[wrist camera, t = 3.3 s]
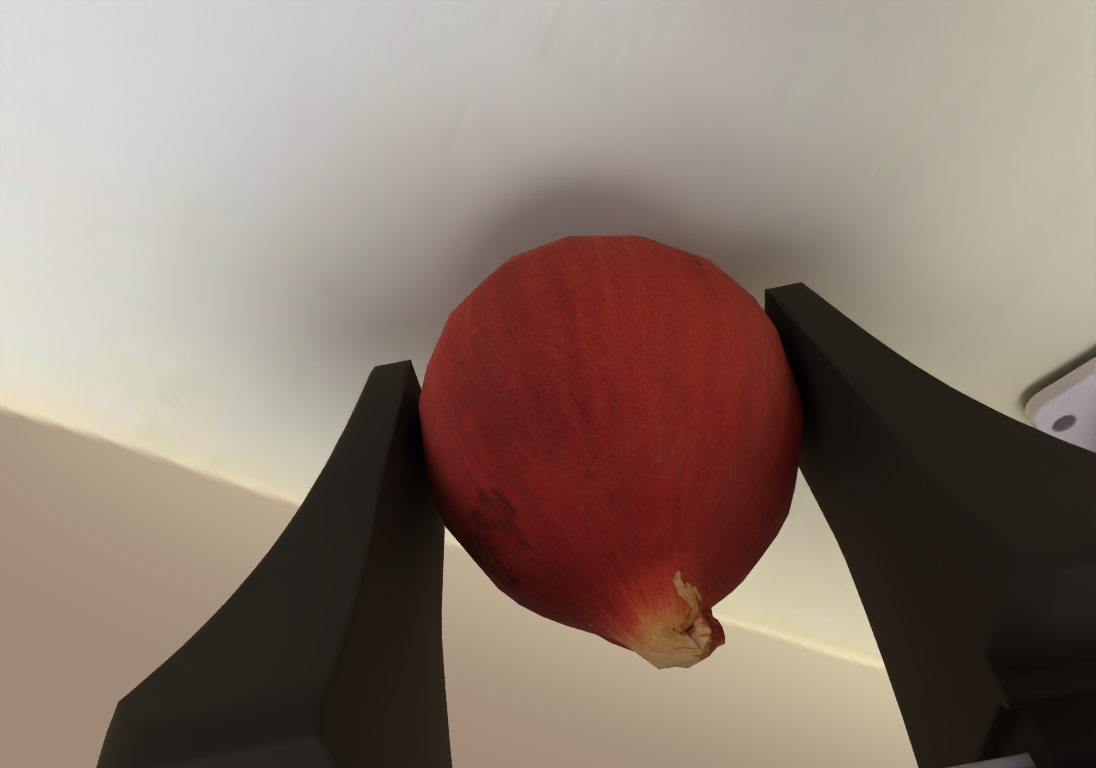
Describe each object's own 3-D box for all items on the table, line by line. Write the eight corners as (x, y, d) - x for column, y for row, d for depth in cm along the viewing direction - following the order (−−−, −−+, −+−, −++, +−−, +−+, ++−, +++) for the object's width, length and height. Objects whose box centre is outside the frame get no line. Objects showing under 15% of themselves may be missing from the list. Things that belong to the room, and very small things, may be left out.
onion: (576, 440, 19) (649, 813, 13) (358, 310, 16) (317, 716, 10) (784, 267, 16) (997, 629, 10) (571, 74, 13) (694, 425, 7)
